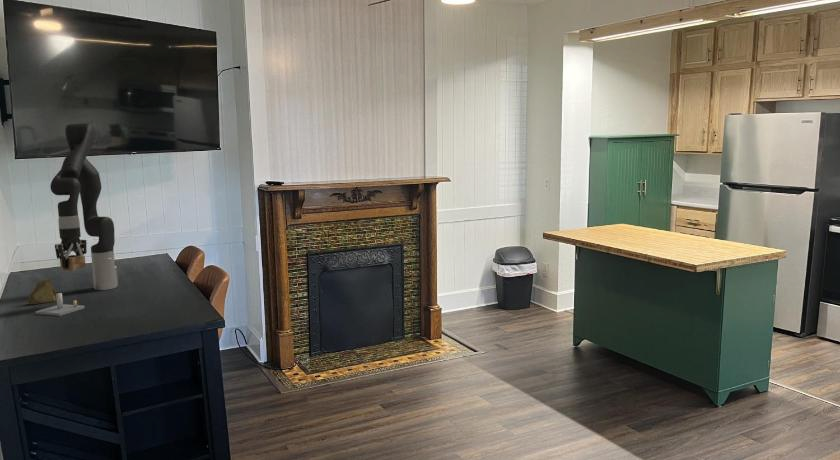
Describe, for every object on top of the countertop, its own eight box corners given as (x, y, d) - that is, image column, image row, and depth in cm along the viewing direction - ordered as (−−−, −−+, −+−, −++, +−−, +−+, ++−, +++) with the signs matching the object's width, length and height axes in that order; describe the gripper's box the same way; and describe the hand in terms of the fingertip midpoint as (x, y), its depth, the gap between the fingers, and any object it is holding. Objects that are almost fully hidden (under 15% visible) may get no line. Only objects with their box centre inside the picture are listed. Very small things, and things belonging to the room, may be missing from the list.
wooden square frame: (73, 266, 263) (72, 254, 262) (85, 267, 261) (84, 255, 260) (60, 269, 257) (59, 257, 256) (73, 270, 255) (72, 258, 254)
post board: (61, 306, 256) (59, 289, 255) (84, 308, 253) (83, 291, 252) (35, 313, 245) (33, 296, 244) (59, 315, 242) (58, 298, 241)
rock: (22, 301, 257) (48, 296, 258) (23, 282, 261) (49, 278, 262) (34, 311, 266) (59, 306, 268) (35, 293, 270) (60, 288, 272)
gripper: (76, 224, 264) (79, 263, 267) (47, 228, 251) (51, 269, 253) (90, 224, 262) (94, 263, 265) (62, 229, 249) (65, 270, 251)
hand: (73, 266), depth 259 cm, fingers closed on wooden square frame, 6 cm apart
